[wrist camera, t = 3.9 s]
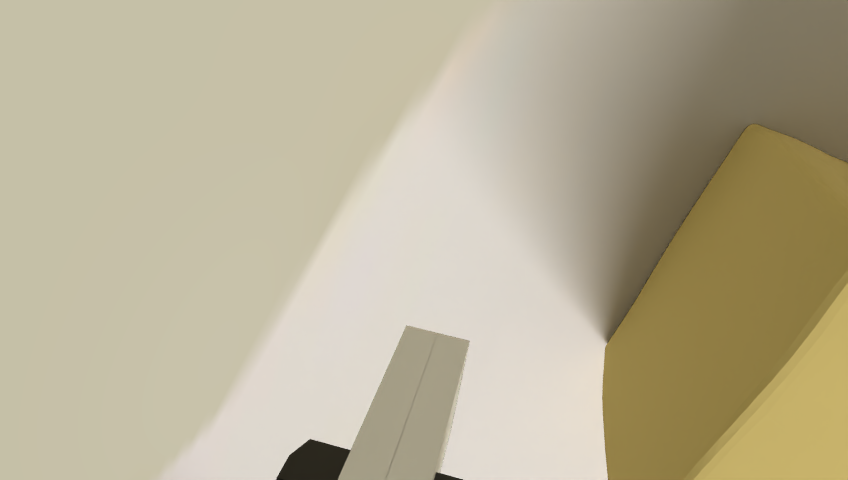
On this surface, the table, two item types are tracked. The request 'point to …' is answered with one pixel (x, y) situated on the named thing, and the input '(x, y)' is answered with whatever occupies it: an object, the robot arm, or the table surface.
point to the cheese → (741, 329)
